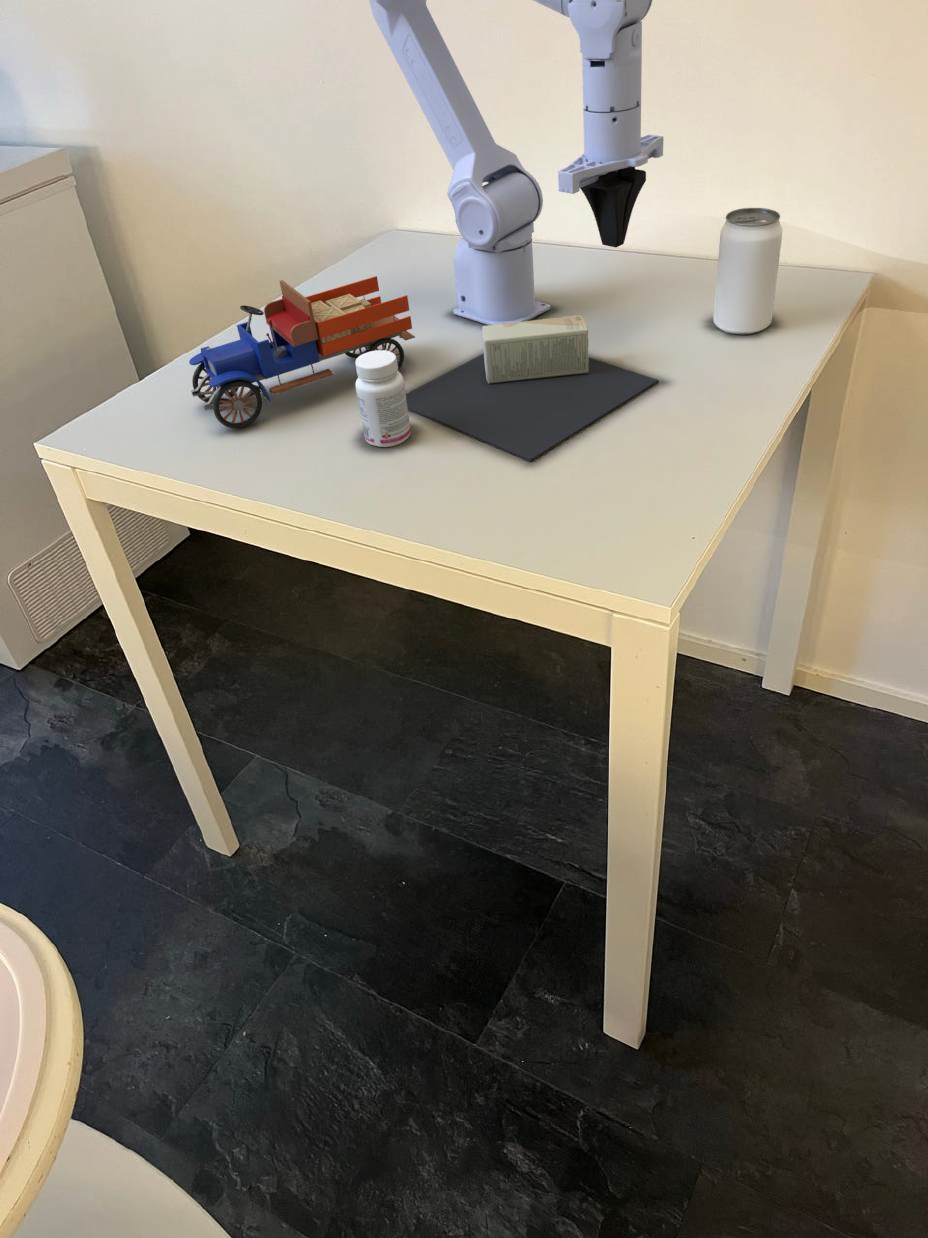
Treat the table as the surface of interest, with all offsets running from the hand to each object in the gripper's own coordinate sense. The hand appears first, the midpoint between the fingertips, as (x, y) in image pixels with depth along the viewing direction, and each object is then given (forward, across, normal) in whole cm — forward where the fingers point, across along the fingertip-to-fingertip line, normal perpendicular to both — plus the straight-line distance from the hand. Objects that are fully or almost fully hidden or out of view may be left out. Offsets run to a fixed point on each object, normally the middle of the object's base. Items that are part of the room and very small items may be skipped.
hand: (612, 244), depth 104 cm
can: (+11, +11, -10) cm, 18 cm away
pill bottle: (+10, -32, +3) cm, 33 cm away
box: (+8, -8, -3) cm, 12 cm away
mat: (+10, -16, -1) cm, 19 cm away
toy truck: (+10, -30, +19) cm, 37 cm away
